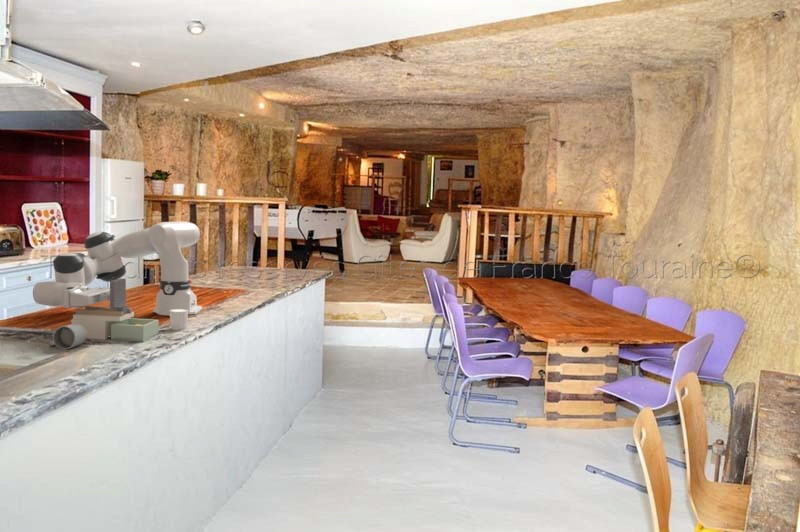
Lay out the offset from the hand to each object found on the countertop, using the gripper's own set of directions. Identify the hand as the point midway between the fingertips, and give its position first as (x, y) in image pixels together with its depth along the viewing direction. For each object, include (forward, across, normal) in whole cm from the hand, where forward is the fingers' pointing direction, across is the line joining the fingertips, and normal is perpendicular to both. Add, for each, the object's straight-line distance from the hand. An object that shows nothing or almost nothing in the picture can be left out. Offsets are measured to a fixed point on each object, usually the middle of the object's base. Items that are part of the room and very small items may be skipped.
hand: (115, 297), depth 228 cm
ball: (+8, 0, -11) cm, 14 cm away
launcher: (-4, 0, -14) cm, 15 cm away
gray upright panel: (+2, 0, -6) cm, 6 cm away
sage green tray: (+7, 0, -14) cm, 16 cm away
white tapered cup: (+15, -18, -14) cm, 27 cm away
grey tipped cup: (-7, +18, -14) cm, 24 cm away
